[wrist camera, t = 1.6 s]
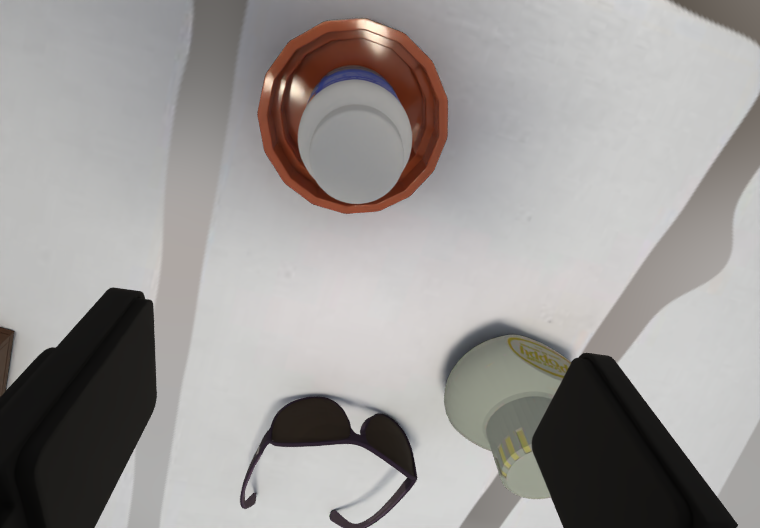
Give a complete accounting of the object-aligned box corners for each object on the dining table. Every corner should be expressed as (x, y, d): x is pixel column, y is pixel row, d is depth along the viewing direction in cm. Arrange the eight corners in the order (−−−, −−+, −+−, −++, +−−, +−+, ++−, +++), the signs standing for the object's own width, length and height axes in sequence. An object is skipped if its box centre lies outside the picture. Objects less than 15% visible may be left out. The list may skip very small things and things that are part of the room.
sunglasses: (426, 420, 41) (435, 469, 37) (358, 519, 48) (358, 570, 43) (282, 379, 38) (272, 427, 33) (230, 491, 44) (217, 543, 40)
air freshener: (582, 355, 38) (651, 457, 29) (525, 418, 42) (571, 526, 33) (474, 310, 35) (514, 408, 27) (422, 382, 39) (443, 490, 30)
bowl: (238, 120, 27) (221, 136, 24) (342, -26, 24) (340, -32, 21) (363, 218, 31) (365, 244, 28) (469, 102, 28) (486, 116, 24)
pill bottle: (301, 69, 26) (276, 97, 17) (395, 59, 26) (416, 82, 17) (316, 162, 28) (301, 225, 20) (402, 153, 28) (422, 213, 20)
